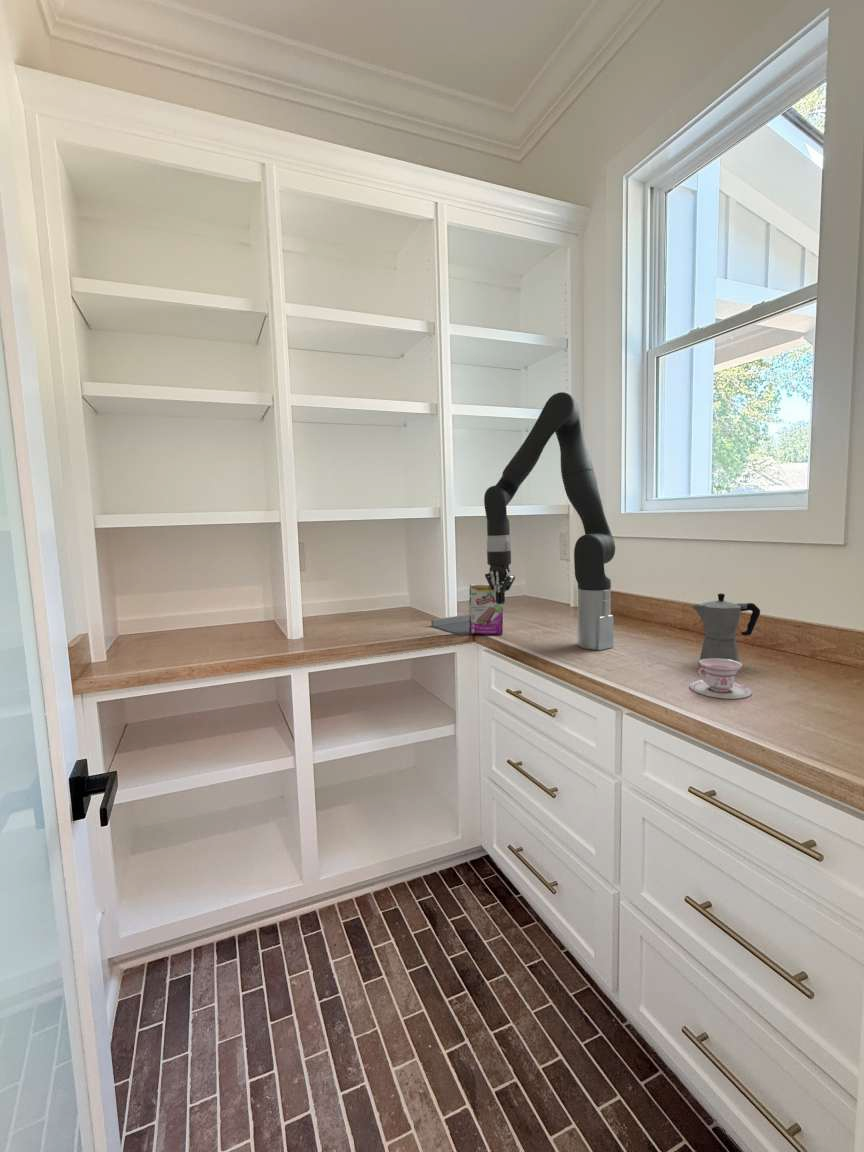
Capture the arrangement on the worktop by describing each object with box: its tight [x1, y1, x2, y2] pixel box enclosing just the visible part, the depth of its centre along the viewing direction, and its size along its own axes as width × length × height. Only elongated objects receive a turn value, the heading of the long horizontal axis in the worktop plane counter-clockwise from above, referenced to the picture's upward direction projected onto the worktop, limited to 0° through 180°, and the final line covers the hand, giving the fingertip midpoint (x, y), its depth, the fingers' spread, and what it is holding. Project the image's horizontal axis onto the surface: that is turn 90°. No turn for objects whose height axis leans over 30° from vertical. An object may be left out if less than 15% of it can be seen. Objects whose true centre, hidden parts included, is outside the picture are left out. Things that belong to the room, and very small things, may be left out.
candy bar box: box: [468, 583, 504, 635], centre depth 176 cm, size 11×5×16 cm, turn 84°
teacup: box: [689, 658, 753, 700], centre depth 115 cm, size 12×12×6 cm
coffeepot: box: [691, 593, 761, 662], centre depth 134 cm, size 15×9×18 cm, turn 74°
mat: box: [430, 614, 471, 637], centre depth 188 cm, size 20×16×2 cm
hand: (500, 603), depth 169 cm, fingers closed
